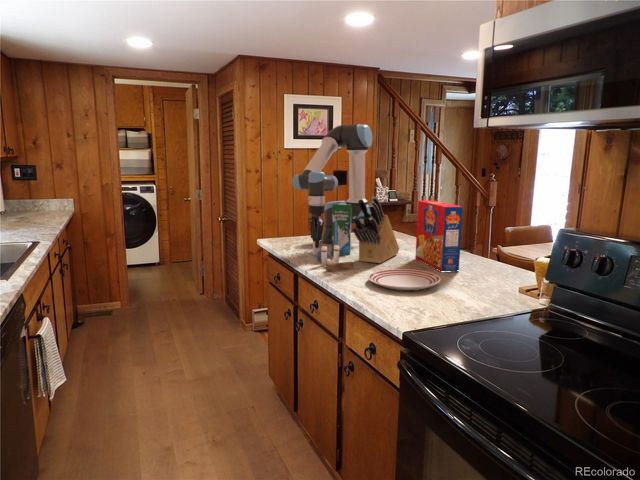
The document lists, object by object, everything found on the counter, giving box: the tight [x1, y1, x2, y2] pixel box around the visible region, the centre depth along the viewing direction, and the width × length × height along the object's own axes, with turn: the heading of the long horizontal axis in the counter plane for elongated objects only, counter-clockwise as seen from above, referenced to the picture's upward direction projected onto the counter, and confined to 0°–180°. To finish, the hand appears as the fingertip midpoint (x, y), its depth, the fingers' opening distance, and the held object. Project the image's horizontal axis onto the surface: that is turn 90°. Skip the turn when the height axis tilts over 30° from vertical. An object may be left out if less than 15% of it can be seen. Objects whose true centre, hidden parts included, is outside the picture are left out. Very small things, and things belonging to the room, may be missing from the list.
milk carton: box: [331, 203, 352, 256], centre depth 236 cm, size 9×9×25 cm
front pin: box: [327, 258, 337, 264], centre depth 208 cm, size 2×2×8 cm
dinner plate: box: [367, 268, 442, 291], centre depth 180 cm, size 27×27×3 cm
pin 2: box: [333, 246, 340, 263], centre depth 211 cm, size 2×2×8 cm
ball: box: [316, 248, 331, 262], centre depth 216 cm, size 6×6×6 cm
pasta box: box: [415, 200, 464, 271], centre depth 210 cm, size 28×8×28 cm, turn 11°
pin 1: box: [320, 245, 328, 267], centre depth 208 cm, size 2×2×8 cm
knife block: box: [351, 196, 400, 264], centre depth 220 cm, size 11×35×31 cm, turn 151°
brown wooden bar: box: [325, 261, 355, 273], centre depth 201 cm, size 12×2×3 cm, turn 114°
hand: (316, 254), depth 224 cm, fingers closed
